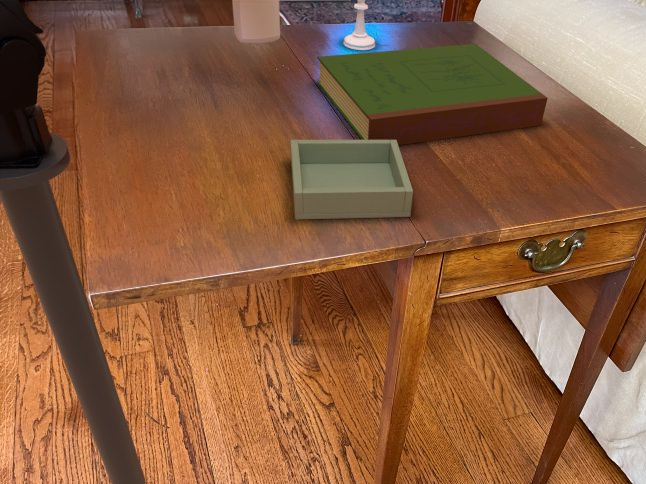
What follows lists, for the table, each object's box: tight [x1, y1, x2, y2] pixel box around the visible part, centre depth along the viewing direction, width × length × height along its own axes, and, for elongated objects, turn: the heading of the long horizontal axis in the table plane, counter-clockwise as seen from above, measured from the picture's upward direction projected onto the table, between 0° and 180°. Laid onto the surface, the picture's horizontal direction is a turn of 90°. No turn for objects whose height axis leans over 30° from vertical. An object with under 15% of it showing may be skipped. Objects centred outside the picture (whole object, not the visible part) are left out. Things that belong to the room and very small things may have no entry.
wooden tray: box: [290, 139, 414, 221], centre depth 67 cm, size 12×11×3 cm
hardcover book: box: [317, 43, 549, 146], centre depth 84 cm, size 25×19×4 cm
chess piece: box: [343, 0, 376, 51], centre depth 96 cm, size 5×5×10 cm
